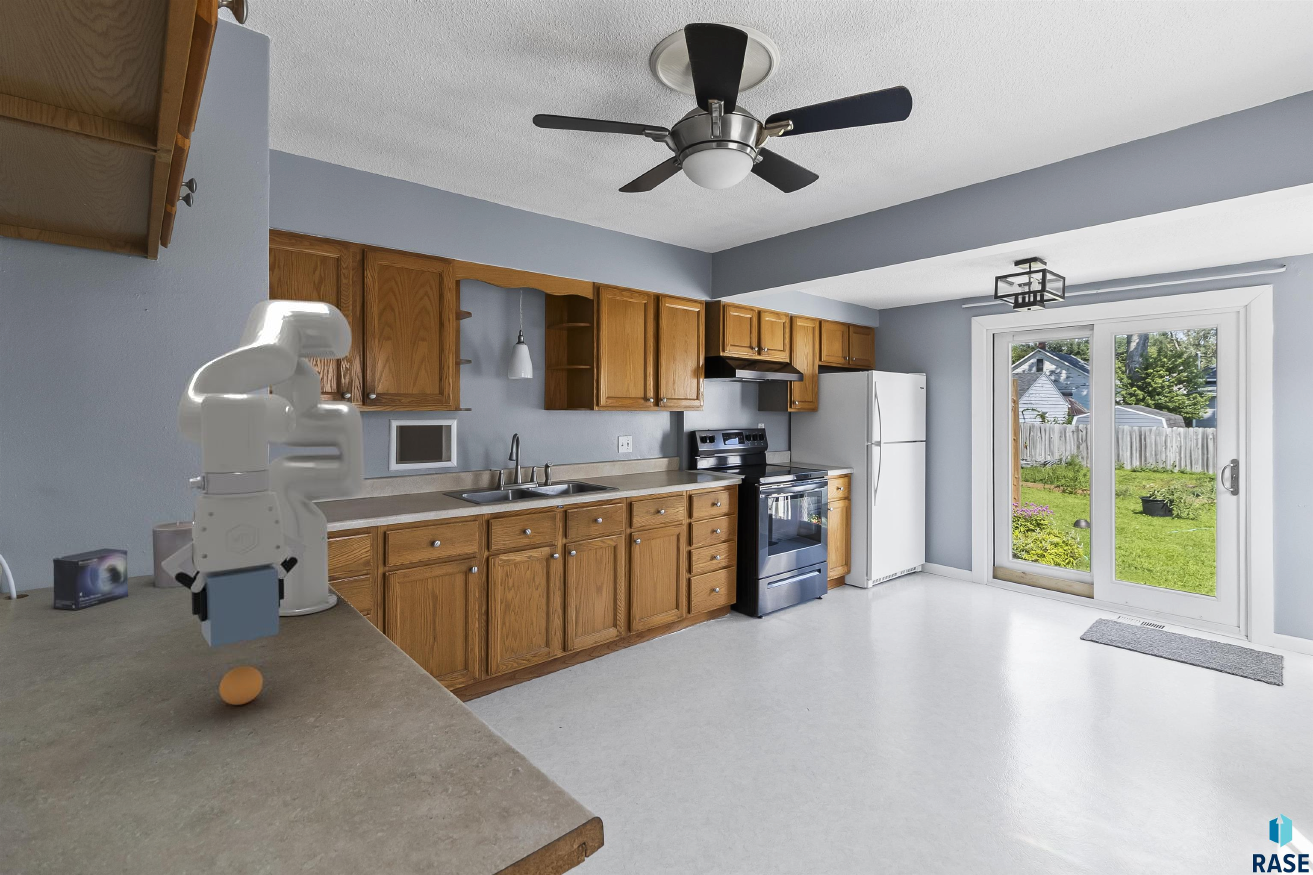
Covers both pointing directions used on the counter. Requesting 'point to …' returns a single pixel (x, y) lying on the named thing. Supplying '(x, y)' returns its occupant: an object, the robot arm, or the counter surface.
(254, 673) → the ball
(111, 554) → the small box
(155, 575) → the pillar candle
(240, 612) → the slate blue square block
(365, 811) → the counter surface
